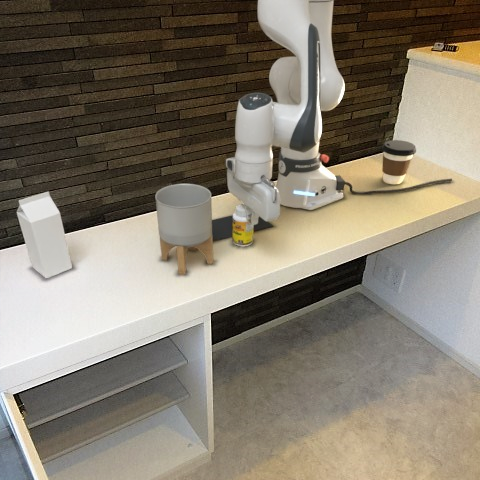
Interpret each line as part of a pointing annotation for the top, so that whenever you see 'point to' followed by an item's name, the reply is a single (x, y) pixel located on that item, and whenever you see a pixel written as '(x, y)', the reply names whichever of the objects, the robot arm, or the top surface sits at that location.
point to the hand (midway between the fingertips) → (252, 222)
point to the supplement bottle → (241, 228)
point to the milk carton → (44, 235)
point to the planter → (185, 221)
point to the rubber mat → (225, 225)
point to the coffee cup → (396, 160)
